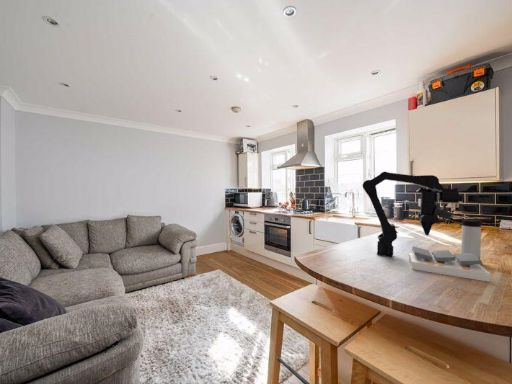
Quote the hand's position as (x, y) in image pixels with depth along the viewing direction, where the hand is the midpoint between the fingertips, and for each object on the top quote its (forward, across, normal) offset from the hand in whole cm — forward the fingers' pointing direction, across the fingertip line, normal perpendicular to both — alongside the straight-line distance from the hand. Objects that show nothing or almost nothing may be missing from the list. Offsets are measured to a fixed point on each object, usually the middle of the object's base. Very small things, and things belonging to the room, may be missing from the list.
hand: (426, 235), depth 101 cm
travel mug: (+12, +8, -17) cm, 22 cm away
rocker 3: (+7, -8, -12) cm, 17 cm away
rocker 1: (+8, -9, +3) cm, 12 cm away
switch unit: (+12, -10, -5) cm, 16 cm away
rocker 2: (+7, -9, -5) cm, 12 cm away
